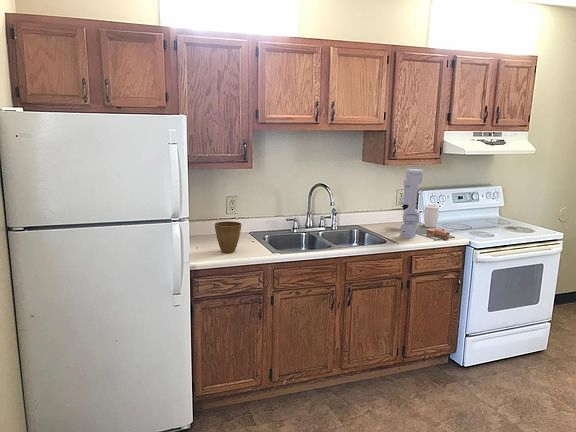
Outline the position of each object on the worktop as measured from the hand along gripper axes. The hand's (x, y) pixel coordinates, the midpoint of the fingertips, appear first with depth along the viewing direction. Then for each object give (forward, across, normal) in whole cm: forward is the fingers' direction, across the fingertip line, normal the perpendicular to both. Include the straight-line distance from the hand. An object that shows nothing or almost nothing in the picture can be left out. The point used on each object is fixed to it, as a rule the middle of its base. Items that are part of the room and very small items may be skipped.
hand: (406, 215), depth 335 cm
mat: (+9, -19, -2) cm, 21 cm away
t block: (+9, -29, -2) cm, 30 cm away
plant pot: (+10, +1, +134) cm, 134 cm away
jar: (+10, -2, -22) cm, 24 cm away
